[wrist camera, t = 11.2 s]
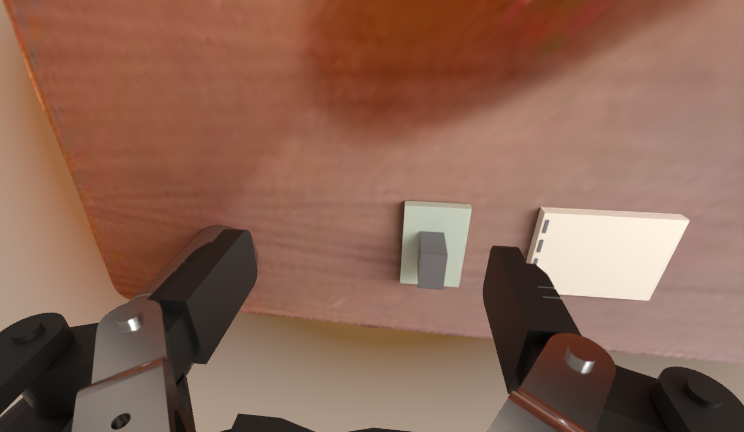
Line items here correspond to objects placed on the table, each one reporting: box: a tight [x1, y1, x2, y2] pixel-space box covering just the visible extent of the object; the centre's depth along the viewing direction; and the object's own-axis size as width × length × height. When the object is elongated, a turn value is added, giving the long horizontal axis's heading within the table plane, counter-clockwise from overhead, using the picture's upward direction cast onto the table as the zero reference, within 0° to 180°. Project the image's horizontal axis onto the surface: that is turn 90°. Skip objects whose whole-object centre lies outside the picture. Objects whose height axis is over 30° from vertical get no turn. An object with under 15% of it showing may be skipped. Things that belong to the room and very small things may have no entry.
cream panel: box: [526, 207, 690, 301], centre depth 44 cm, size 16×12×2 cm
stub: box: [400, 201, 472, 290], centre depth 43 cm, size 8×12×6 cm, turn 179°
